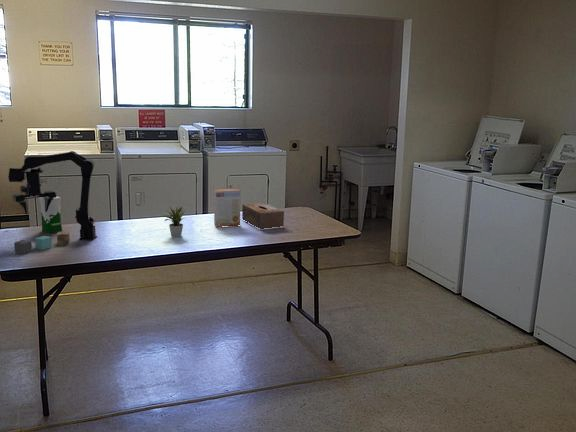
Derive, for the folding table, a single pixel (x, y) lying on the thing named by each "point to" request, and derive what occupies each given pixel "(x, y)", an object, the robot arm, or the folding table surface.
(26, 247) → the charcoal block
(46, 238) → the teal block
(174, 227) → the house plant
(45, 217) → the milk carton
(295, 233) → the folding table surface
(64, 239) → the walnut block
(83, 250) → the folding table surface
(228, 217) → the cracker box
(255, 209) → the tissue box cover
